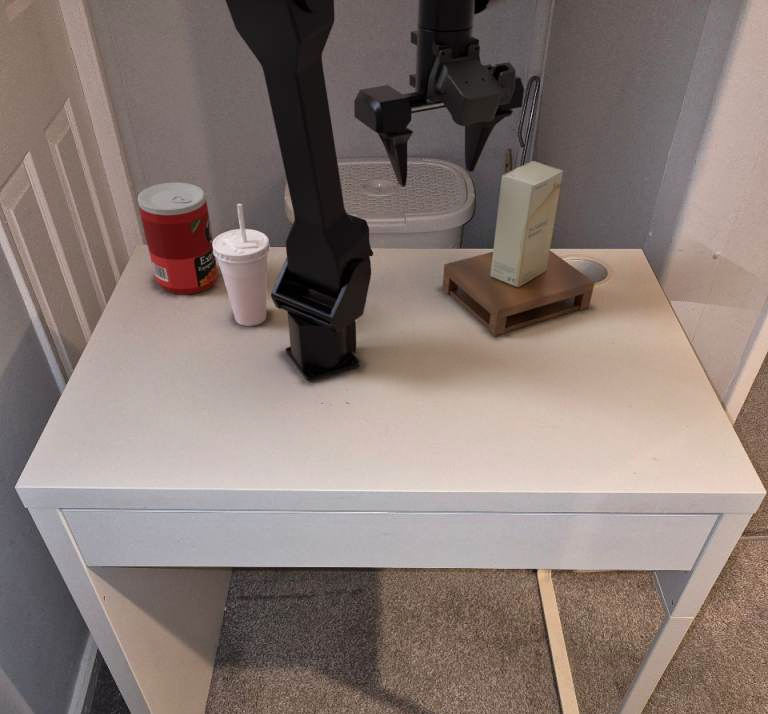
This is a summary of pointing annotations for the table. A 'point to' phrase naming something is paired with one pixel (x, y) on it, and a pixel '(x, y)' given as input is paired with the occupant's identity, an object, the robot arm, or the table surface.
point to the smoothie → (244, 270)
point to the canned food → (178, 237)
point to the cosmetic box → (525, 222)
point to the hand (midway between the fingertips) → (436, 177)
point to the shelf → (516, 293)
